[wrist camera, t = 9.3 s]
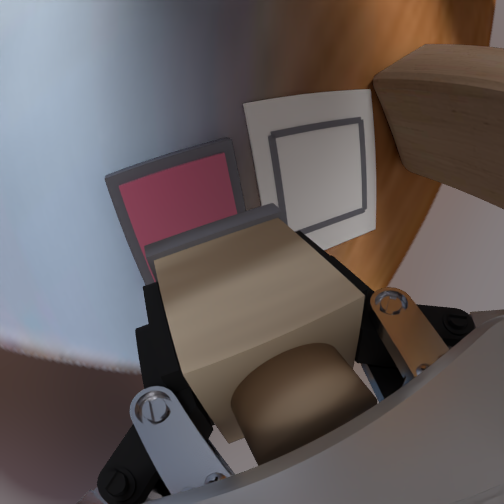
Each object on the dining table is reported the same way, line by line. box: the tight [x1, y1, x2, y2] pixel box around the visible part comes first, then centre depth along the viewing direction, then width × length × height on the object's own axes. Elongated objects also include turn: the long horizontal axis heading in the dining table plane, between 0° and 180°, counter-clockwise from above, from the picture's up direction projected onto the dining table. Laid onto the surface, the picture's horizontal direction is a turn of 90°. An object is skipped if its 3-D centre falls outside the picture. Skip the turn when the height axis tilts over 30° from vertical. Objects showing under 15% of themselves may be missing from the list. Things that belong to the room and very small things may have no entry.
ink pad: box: [105, 138, 246, 285], centre depth 19 cm, size 9×8×1 cm
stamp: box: [144, 203, 377, 466], centre depth 9 cm, size 5×5×7 cm
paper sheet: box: [243, 89, 376, 250], centre depth 22 cm, size 13×11×1 cm
